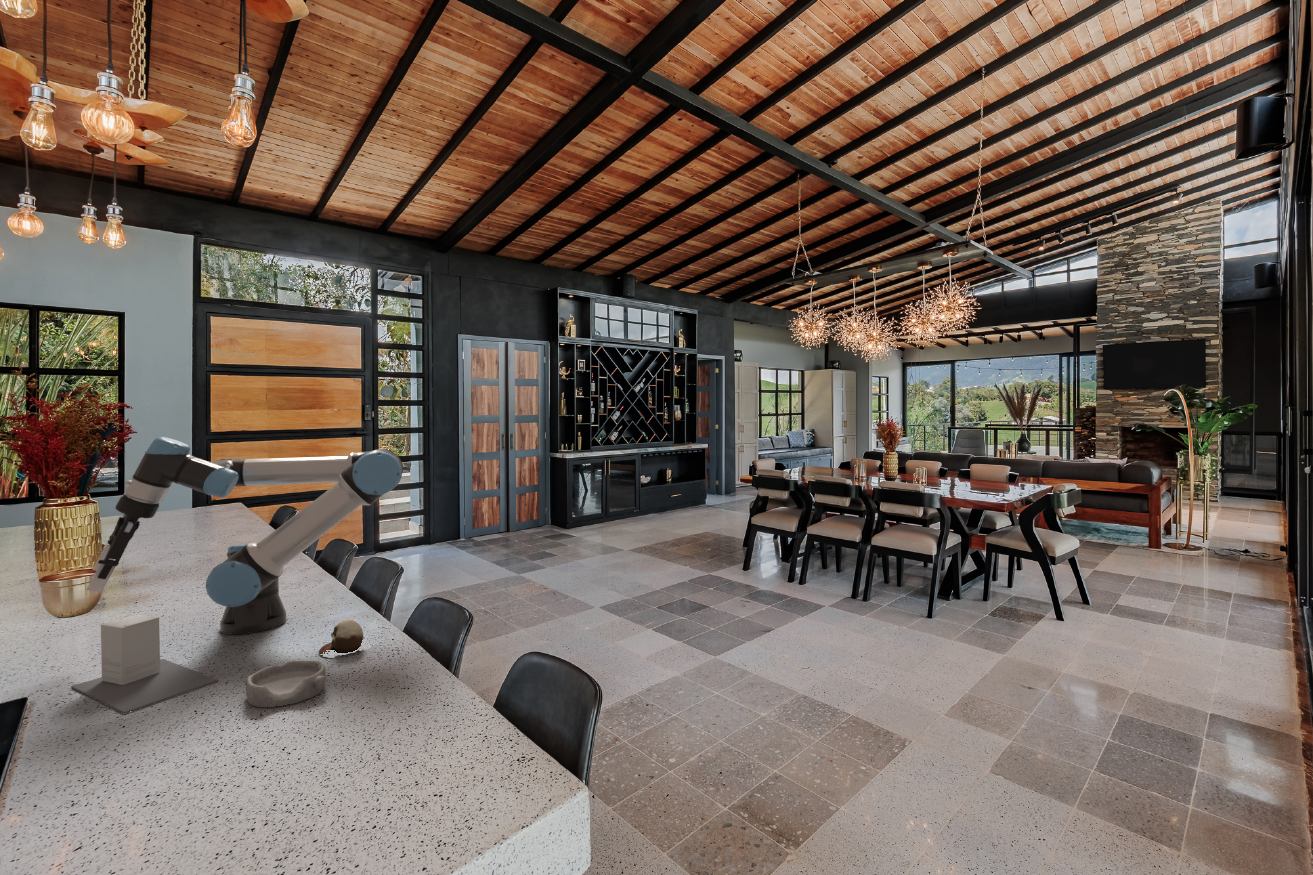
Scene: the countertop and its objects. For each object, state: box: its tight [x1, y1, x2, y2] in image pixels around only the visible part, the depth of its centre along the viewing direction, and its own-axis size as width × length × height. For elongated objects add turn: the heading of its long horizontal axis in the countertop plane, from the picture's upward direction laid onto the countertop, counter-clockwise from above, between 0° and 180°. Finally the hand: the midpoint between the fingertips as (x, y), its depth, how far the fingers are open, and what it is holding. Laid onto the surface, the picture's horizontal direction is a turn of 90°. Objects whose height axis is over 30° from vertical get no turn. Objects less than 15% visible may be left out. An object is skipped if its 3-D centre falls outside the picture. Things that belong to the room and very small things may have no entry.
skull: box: [318, 619, 365, 657], centre depth 144 cm, size 12×10×10 cm
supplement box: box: [100, 613, 161, 685], centre depth 126 cm, size 7×7×13 cm
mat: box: [70, 658, 219, 715], centre depth 124 cm, size 24×16×1 cm, turn 63°
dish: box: [245, 660, 327, 709], centre depth 120 cm, size 14×14×5 cm
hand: (96, 580), depth 137 cm, fingers open, 13 cm apart
